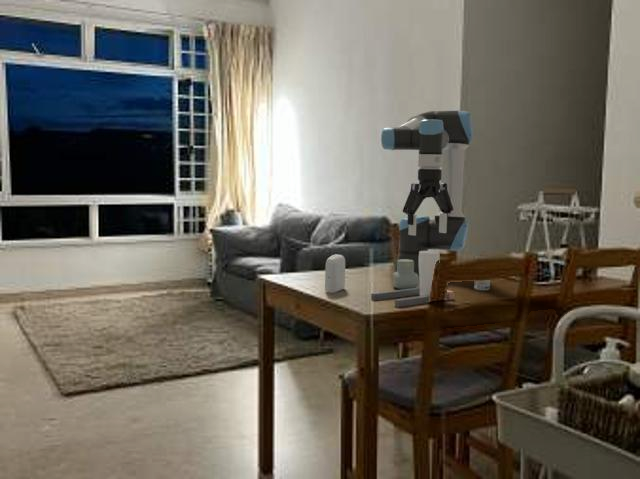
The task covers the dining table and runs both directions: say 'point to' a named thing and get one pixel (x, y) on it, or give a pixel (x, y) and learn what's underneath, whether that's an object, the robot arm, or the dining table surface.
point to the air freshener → (405, 275)
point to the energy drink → (482, 284)
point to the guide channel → (407, 293)
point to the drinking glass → (427, 270)
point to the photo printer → (335, 273)
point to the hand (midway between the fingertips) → (427, 234)
